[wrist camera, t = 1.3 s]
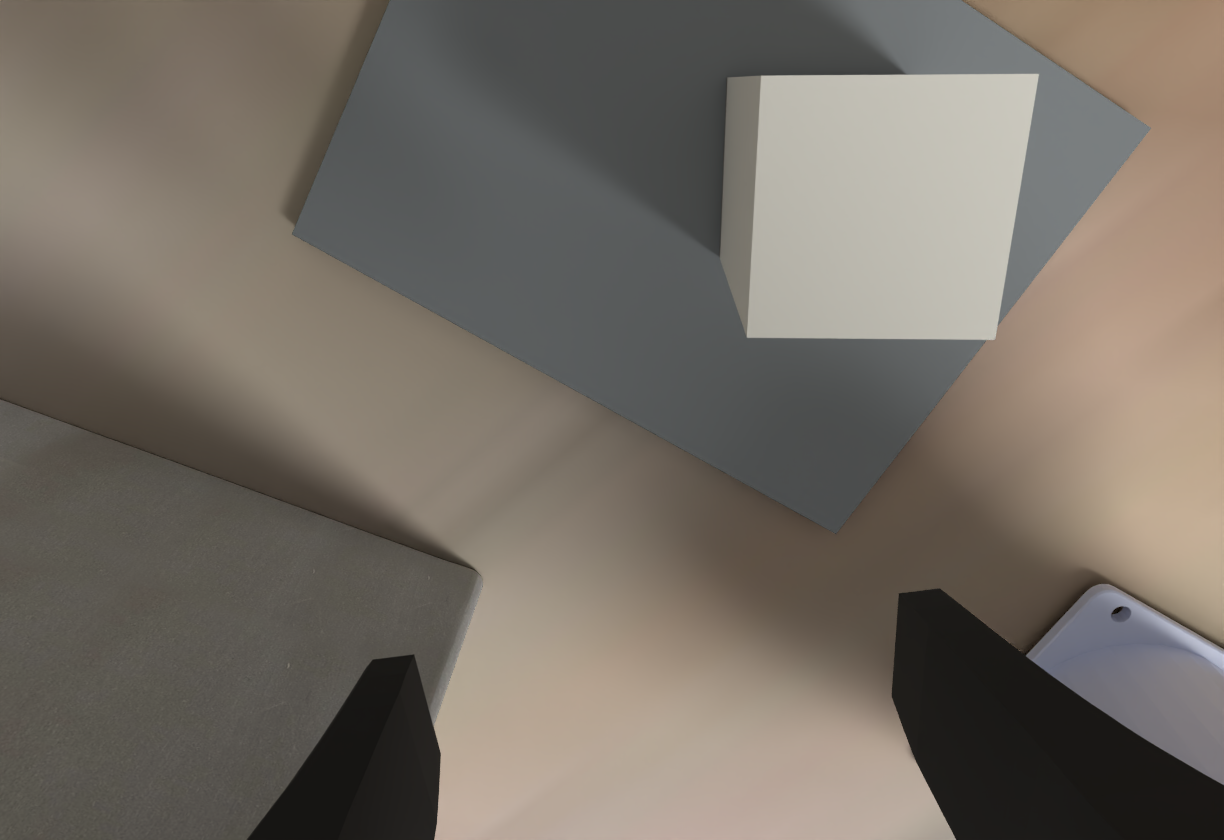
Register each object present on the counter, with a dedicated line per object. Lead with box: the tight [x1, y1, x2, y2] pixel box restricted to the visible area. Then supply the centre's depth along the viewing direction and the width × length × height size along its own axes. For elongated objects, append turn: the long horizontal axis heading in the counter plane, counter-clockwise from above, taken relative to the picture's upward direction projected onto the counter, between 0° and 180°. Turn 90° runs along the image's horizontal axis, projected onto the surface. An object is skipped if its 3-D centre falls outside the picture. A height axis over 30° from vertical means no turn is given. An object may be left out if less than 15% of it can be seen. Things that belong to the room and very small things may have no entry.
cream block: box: [719, 74, 1039, 340], centre depth 16 cm, size 4×4×7 cm
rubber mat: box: [292, 0, 1151, 534], centre depth 20 cm, size 16×12×1 cm
